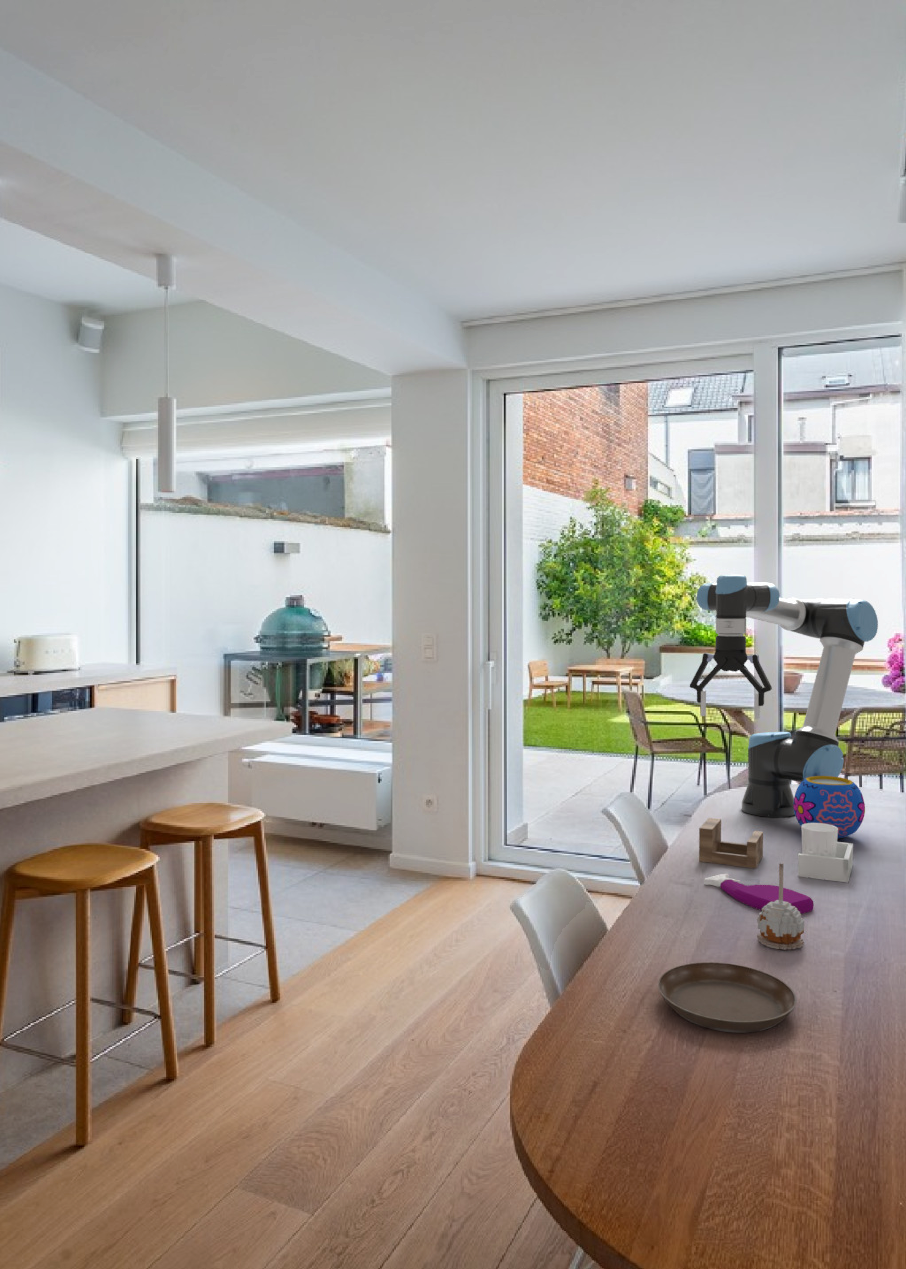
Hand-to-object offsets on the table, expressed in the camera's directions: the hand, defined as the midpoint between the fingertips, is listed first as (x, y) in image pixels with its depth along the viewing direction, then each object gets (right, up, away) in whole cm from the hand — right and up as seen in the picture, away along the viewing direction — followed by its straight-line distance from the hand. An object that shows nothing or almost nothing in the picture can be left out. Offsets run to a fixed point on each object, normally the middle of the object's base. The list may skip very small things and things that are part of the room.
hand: (729, 717), depth 243 cm
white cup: (+13, -33, -26) cm, 44 cm away
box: (+14, -33, -26) cm, 45 cm away
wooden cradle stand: (-5, -33, -17) cm, 37 cm away
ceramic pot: (+27, -32, +3) cm, 41 cm away
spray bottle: (-8, -35, -44) cm, 57 cm away
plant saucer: (-29, -37, -97) cm, 108 cm away
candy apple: (-12, -36, -71) cm, 80 cm away
